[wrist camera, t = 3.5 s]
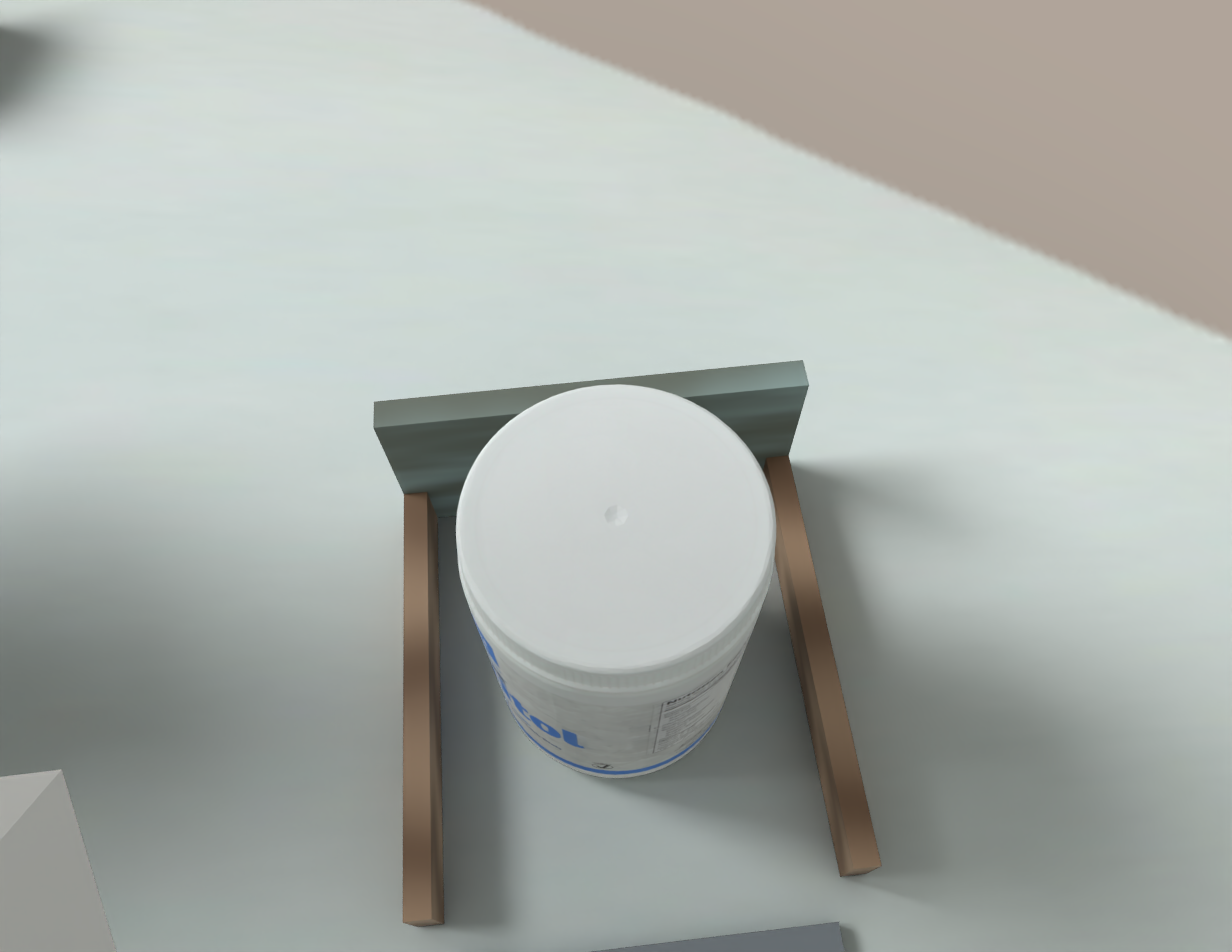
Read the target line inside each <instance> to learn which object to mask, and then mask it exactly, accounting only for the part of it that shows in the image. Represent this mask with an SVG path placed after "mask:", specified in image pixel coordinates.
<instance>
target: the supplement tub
mask: <svg viewBox="0 0 1232 952" xmlns="http://www.w3.org/2000/svg"><path fill="white" fill-rule="evenodd" d="M456 542H457V551H458V552H457V554H458V567H459V573H460V579H461V582H462V586H463V590H464V593H465V596H466V599H467V602H468V605H469V608H470V611H471V614H472V617H473V619H474V621H475V624H476V626H477V629H478V632H479V634H480V637H481V639H482V642H483V644H484V647H485V649H486V652H487V655H488V657H489V659H490V662H491V664H492V667H493V670H494V672H495V675H496V677H497V680H498V682H499V685H500V687H501V690H502V692H503V695H504V697H505V699H506V702H507V704H508V706H509V708H510V711H511V713H512V715H513V717H514V719H515V720H516V722H517V724H518V726H519V727H520V729H521V730H522V731H523V733H524V734H525V735H526V736H527V738H528V739H529V740H530V741H531V742H532V743H533V744H534V745H535V746H536V747H538V748H539V749H540V750H541V751H542V752H544V753H545V754H546V755H548V756H549V757H550V758H552V759H554V760H556V761H557V762H559V763H561V764H563V765H565V766H567V767H569V768H571V769H574V770H576V771H579V772H582V773H585V774H589V775H593V776H597V777H605V778H628V777H634V776H641V775H645V774H648V773H652V772H655V771H657V770H660V769H663V768H665V767H667V766H669V765H671V764H673V763H674V762H676V761H678V760H679V759H681V758H682V757H684V756H685V755H686V754H688V753H689V752H690V751H692V750H693V749H694V748H695V747H696V746H697V745H698V744H699V743H700V741H701V740H702V739H703V738H704V737H705V736H706V734H707V733H708V732H709V731H710V729H711V727H712V726H713V724H714V723H715V721H716V719H717V717H718V715H719V713H720V711H721V709H722V706H723V704H724V701H725V699H726V696H727V694H728V691H729V689H730V686H731V684H732V681H733V679H734V677H735V674H736V672H737V669H738V667H739V664H740V662H741V659H742V656H743V654H744V651H745V649H746V646H747V644H748V641H749V639H750V636H751V634H752V631H753V629H754V626H755V624H756V621H757V619H758V616H759V613H760V611H761V608H762V605H763V602H764V600H765V597H766V595H767V592H768V589H769V585H770V582H771V577H772V573H773V567H774V557H775V544H776V516H775V508H774V502H773V498H772V494H771V491H770V488H769V485H768V482H767V480H766V478H765V475H764V473H763V471H762V469H761V467H760V465H759V463H758V462H757V460H756V458H755V456H754V455H753V453H752V452H751V451H750V449H749V448H748V447H747V445H746V444H745V443H744V442H743V441H742V440H741V438H740V437H739V436H738V435H737V434H736V433H735V432H734V431H733V430H732V429H731V428H730V427H729V426H727V425H726V424H725V423H724V422H723V421H721V420H720V419H719V418H718V417H717V416H715V415H714V414H712V413H711V412H709V411H707V410H706V409H704V408H702V407H700V406H699V405H697V404H695V403H693V402H691V401H689V400H687V399H684V398H682V397H680V396H677V395H675V394H672V393H668V392H665V391H662V390H658V389H653V388H648V387H642V386H634V385H621V384H616V385H598V386H591V387H584V388H579V389H575V390H571V391H567V392H564V393H561V394H558V395H555V396H552V397H550V398H548V399H546V400H543V401H541V402H539V403H537V404H535V405H533V406H532V407H530V408H528V409H526V410H525V411H523V412H522V413H520V414H519V415H517V416H516V417H515V418H513V419H512V420H510V421H509V422H508V423H507V424H506V425H505V426H504V427H502V428H501V429H500V430H499V431H498V432H497V433H496V434H495V435H494V436H493V437H492V438H491V440H490V441H489V442H488V443H487V444H486V446H485V447H484V448H483V449H482V451H481V452H480V454H479V455H478V457H477V458H476V460H475V462H474V464H473V466H472V468H471V470H470V471H469V474H468V476H467V478H466V481H465V483H464V486H463V489H462V492H461V495H460V500H459V504H458V509H457V519H456Z"/></svg>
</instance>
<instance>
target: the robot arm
mask: <svg viewBox="0 0 1232 952" xmlns="http://www.w3.org/2000/svg"><path fill="white" fill-rule="evenodd" d="M0 952H116V948H115V945H114V942H113V938H112V935H111V932H110V928H109V925H108V922H107V918H106V915H105V912H104V908H103V905H102V902H101V898H100V895H99V892H98V888H97V885H96V882H95V878H94V875H93V872H92V868H91V865H90V861H89V858H88V855H87V851H86V848H85V845H84V841H83V838H82V835H81V831H80V828H79V825H78V821H77V818H76V815H75V811H74V808H73V805H72V801H71V798H70V795H69V791H68V788H67V785H66V781H65V778H64V775H63V771H62V769H60V770H52V771H44V772H35V773H27V774H19V775H11V776H3V777H0Z"/></svg>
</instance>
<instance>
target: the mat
mask: <svg viewBox="0 0 1232 952" xmlns="http://www.w3.org/2000/svg"><path fill="white" fill-rule="evenodd" d="M593 952H845V951H844V946H843V941H842V936H841V931H840V926H839V922H834V923H825V924H817V925H809V926H800V927H792V928H784V929H776V930H767V931H759V932H751V933H742V934H734V935H726V936H717V937H709V938H701V939H692V940H684V941H676V942H668V943H659V944H651V945H643V946H634V947H626V948H618V949H609V950H601V951H593Z"/></svg>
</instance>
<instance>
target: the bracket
mask: <svg viewBox="0 0 1232 952" xmlns="http://www.w3.org/2000/svg"><path fill="white" fill-rule="evenodd" d="M616 384H621V385H634V386H642V387H648V388H653V389H658V390H662V391H665V392H668V393H672V394H675V395H677V396H680V397H682V398H684V399H687V400H689V401H691V402H693V403H695V404H697V405H699V406H700V407H702V408H704V409H706V410H707V411H709V412H711V413H712V414H714V415H715V416H717V417H718V418H719V419H720V420H721V421H723V422H724V423H725V424H726V425H727V426H729V427H730V428H731V429H732V430H733V431H734V432H735V433H736V434H737V435H738V436H739V437H740V438H741V440H742V441H743V442H744V443H745V444H746V445H747V447H748V448H749V449H750V451H751V452H752V453H753V455H754V456H755V458H756V460H757V462H758V463H759V465H760V467H761V469H762V471H763V473H764V475H765V478H766V480H767V482H768V485H769V488H770V491H771V494H772V498H773V502H774V508H775V516H776V544H775V557H774V558H775V562H776V567H777V572H778V577H779V582H780V587H781V592H782V596H783V601H784V606H785V611H786V616H787V621H788V626H789V630H790V635H791V640H792V645H793V650H794V655H795V660H796V664H797V669H798V674H799V679H800V684H801V689H802V694H803V698H804V703H805V708H806V713H807V718H808V723H809V728H810V732H811V737H812V742H813V747H814V752H815V757H816V761H817V766H818V771H819V776H820V781H821V786H822V791H823V795H824V800H825V805H826V810H827V815H828V820H829V825H830V829H831V834H832V839H833V844H834V849H835V854H836V859H837V863H838V868H839V873H840V877H842V876H850V875H858V874H866V873H868V872H870V871H872V870H874V869H876V868H878V867H880V866H881V861H880V857H879V852H878V848H877V844H876V839H875V835H874V830H873V826H872V821H871V817H870V813H869V808H868V804H867V799H866V795H865V791H864V786H863V782H862V777H861V773H860V769H859V764H858V760H857V755H856V751H855V747H854V742H853V738H852V733H851V729H850V725H849V720H848V716H847V711H846V707H845V702H844V698H843V694H842V689H841V685H840V680H839V676H838V672H837V667H836V663H835V658H834V654H833V650H832V645H831V641H830V636H829V632H828V628H827V623H826V619H825V614H824V610H823V606H822V601H821V597H820V592H819V588H818V583H817V579H816V575H815V570H814V566H813V561H812V557H811V553H810V548H809V544H808V539H807V535H806V531H805V526H804V522H803V517H802V513H801V509H800V504H799V500H798V495H797V491H796V486H795V482H794V478H793V473H792V469H791V464H790V460H789V456H788V455H789V452H790V448H791V445H792V442H793V438H794V435H795V431H796V428H797V424H798V421H799V418H800V414H801V411H802V407H803V404H804V400H805V397H806V394H807V390H808V387H809V383H808V379H807V375H806V371H805V367H804V363H803V360H800V361H790V362H780V363H769V364H759V365H749V366H738V367H728V368H718V369H707V370H697V371H687V372H677V373H666V374H656V375H646V376H635V377H625V378H615V379H604V380H594V381H584V382H573V383H563V384H553V385H542V386H532V387H522V388H512V389H501V390H491V391H481V392H470V393H460V394H450V395H439V396H429V397H419V398H408V399H398V400H388V401H377V402H374V430H375V432H376V434H377V436H378V439H379V441H380V443H381V445H382V447H383V449H384V452H385V454H386V456H387V458H388V460H389V463H390V465H391V467H392V469H393V471H394V473H395V476H396V478H397V480H398V482H399V484H400V486H401V489H402V491H403V493H404V677H403V923H406V924H409V925H413V926H416V927H420V926H428V925H437V924H444V890H443V829H442V767H441V706H440V645H439V583H438V522H437V517H445V516H455V515H457V509H458V504H459V500H460V495H461V492H462V489H463V486H464V483H465V481H466V478H467V476H468V474H469V471H470V470H471V468H472V466H473V464H474V462H475V460H476V458H477V457H478V455H479V454H480V452H481V451H482V449H483V448H484V447H485V446H486V444H487V443H488V442H489V441H490V440H491V438H492V437H493V436H494V435H495V434H496V433H497V432H498V431H499V430H500V429H501V428H502V427H504V426H505V425H506V424H507V423H508V422H509V421H510V420H512V419H513V418H515V417H516V416H517V415H519V414H520V413H522V412H523V411H525V410H526V409H528V408H530V407H532V406H533V405H535V404H537V403H539V402H541V401H543V400H546V399H548V398H550V397H552V396H555V395H558V394H561V393H564V392H567V391H571V390H575V389H579V388H584V387H591V386H598V385H616Z"/></svg>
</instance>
